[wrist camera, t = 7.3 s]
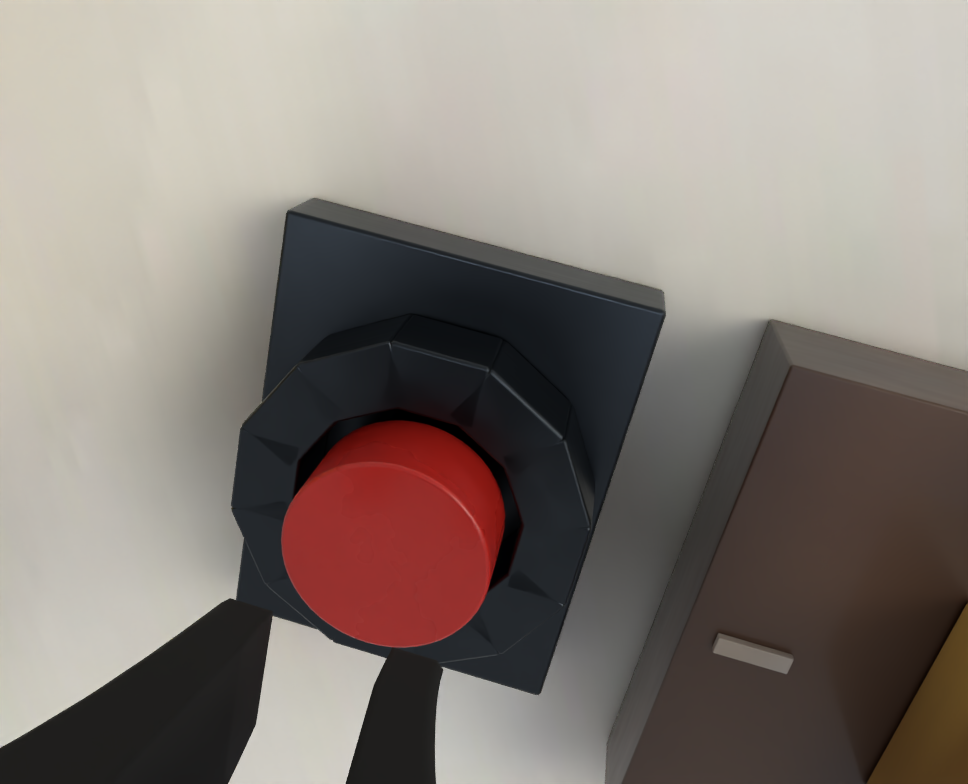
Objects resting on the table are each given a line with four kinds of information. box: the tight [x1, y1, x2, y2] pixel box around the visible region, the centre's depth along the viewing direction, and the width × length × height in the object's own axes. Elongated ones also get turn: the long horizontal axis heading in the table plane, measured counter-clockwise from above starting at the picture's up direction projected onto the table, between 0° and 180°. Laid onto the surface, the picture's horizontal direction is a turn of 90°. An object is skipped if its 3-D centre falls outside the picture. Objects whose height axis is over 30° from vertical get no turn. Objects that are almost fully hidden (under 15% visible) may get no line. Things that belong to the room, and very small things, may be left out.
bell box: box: [231, 198, 666, 695], centre depth 17 cm, size 9×7×3 cm
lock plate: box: [605, 320, 968, 784], centre depth 17 cm, size 10×11×3 cm
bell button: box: [281, 420, 505, 648], centre depth 15 cm, size 4×4×2 cm
